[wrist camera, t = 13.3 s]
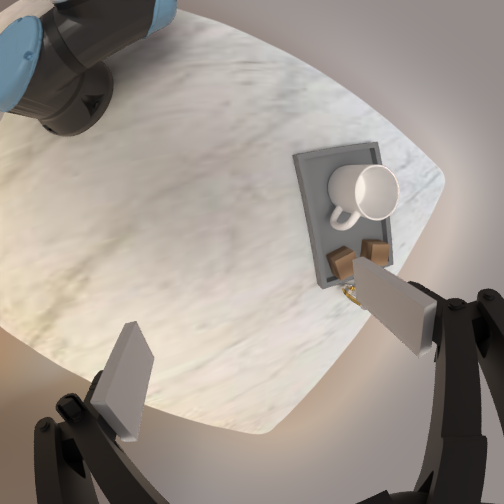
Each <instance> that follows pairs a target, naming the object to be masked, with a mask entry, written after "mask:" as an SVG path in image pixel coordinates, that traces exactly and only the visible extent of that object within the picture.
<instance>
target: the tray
mask: <svg viewBox="0 0 504 504" xmlns="http://www.w3.org/2000/svg"><path fill="white" fill-rule="evenodd" d="M293 159H294V164H295V168H296V173H297V177H298V182H299V186H300V191H301V196H302V200H303V205H304V210H305V215H306V220H307V225H308V231H309V236H310V241H311V247H312V252H313V258H314V264H315V270H316V276H317V282H318V285H319V286H320V287H321V288H322V289H325V288H328V287H331V286H334V285H337V284H340V283H343V282H346V281H349V280H352V279H354V274H353V275H351V276H350V277H348V278H346V279H344V280H342V281H341V280H339V279H338V278H337V277H336V276H335V275H333V274H332V272H331V269H330V266H329V263H328V260H327V257H326V254H328V253H330V252H332V251H334V250H336V249H338V248H340V247H342V246H346V247H348V248H350V249H351V250H353V251H355V255H356V258H360V253H361V244H362V239H379V240H381V241H384V242H386V243H388V244H390V250H389V257H388V263H387V265H383V266H380V267H382V268H385V267H388V266H390V265H393V251H392V237H391V226H390V216H388V217H387V218H385V219H383V220H371V219H368V218H365V217H362V216H360V217H359V219H358V220H357V222H356V223H355V224H354V225H353V226H352V227H351V228H349V229H347V230H336V229H334V228H333V227H332V226H331V224H330V218H331V215H332V213H333V211H334V209H335V208H336V206H335V205H334V204H333V202H332V201H331V199H330V197H329V193H328V183H329V179H330V177H331V175H332V174H333V172H334V171H335V170H336V169H338V168H340V167H342V166H345V165H382V161H381V156H380V151H379V146H378V142H372V143H364V144H357V145H350V146H343V147H337V148H330V149H324V150H319V151H313V152H307V153H302V154H297V155H293ZM351 214H352V213H349V212H345V211H342V212H341V214H340V215H339V217H338V218H337V223H340V224H341V223H345V222H346V221H347V220H348V219H349V218H350V216H351Z"/></svg>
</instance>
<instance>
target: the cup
mask: <svg viewBox="0 0 504 504" xmlns="http://www.w3.org/2000/svg"><path fill="white" fill-rule="evenodd" d="M328 193H329V197H330V199H331V201H332V202H333V204H334V205H335V206H336V208H335V209H334V211H333V213H332V215H331V218H330V224H331V226H332V227H333V228H334V229H336V230H347V229H349V228H351V227H352V226H353V225H354V224H355V223H356V222H357V220H358V219H359V217H360V216H362V217H365V218H368V219H371V220H383V219H385V218H387V217H388V216H390V215H391V214H392V213H393V211H394V210H395V208H396V206H397V204H398V200H399V185H398V182H397V179H396V177H395V175H394V174H393V173H392V171H391V170H389V169H388V168H387V167H385V166H383V165H345V166H342V167H340V168H338V169H336V170H335V171H334V172H333V174H332V175H331V177H330V179H329V183H328ZM342 211H345V212H349V213H352V214H351V216H350V218H349V219H348V220H347V221H346V222H345V223H341V224H340V223H337V218H338V217H339V215H340V214H341V212H342Z"/></svg>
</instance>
